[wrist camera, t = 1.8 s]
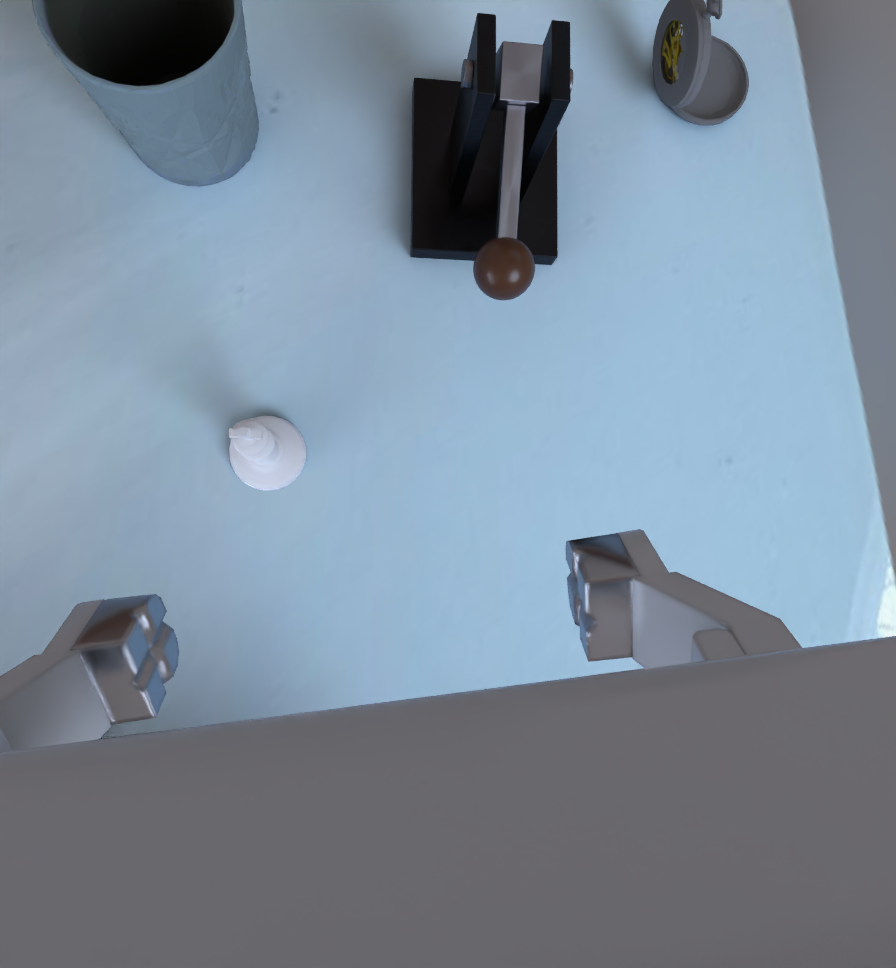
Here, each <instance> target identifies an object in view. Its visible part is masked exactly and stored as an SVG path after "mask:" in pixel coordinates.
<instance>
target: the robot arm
mask: <svg viewBox="0 0 896 968" xmlns="http://www.w3.org/2000/svg"><path fill="white" fill-rule="evenodd" d="M566 560H567V563H568V566H569V569H570V572H571V573H570V574H569V576H568V577H567V585H568V595H569V602H570V608H571V612H572V616H573V619H574V622H575V624H576V625H578V626H580V639H581V642H582V645H583V648H584V651H585V654H586V656H587V659H588V662H589V661H599V660H609V659H618V658H628V657H633V660H635V661H636V662H637V663H639V664H640V665H641V666H643V667H644V668H645V669H637V670H629V671H621V672H614V673H606V674H598V675H590V676H583V677H575V678H567V679H560V680H552V681H544V682H537V683H529V684H521V685H513V686H506V687H498V688H490V689H483V690H475V691H467V692H459V693H452V694H444V695H436V696H429V697H421V698H413V699H405V700H398V701H390V702H382V703H375V704H367V705H359V706H351V707H344V708H336V709H328V710H321V711H313V712H305V713H297V714H290V715H282V716H274V717H266V718H259V719H251V720H243V721H236V722H228V723H220V724H212V725H205V726H197V727H189V728H182V729H174V730H166V731H158V732H151V733H143V734H135V735H127V736H120V737H112V738H104V739H100V738H101V737H102V736H103V735H104V734H105V733H106V732H107V731H108V730H109V729H110V728H111V727H112V726H111V725H112V724H118V723H124V722H131V721H137V720H143V719H150V718H156V716H157V714H158V711H159V709H160V707H161V704H162V702H163V700H164V697H165V695H166V693H167V692H166V690H165V687H164V683H166V682H167V681H168V680H169V679H170V678H172V677H173V676H174V673H175V671H176V668H177V666H178V656H179V648H178V642H177V638H176V635H175V632H174V629H172V628H171V627H170V626H168V625H167V624H166V623H164V622H163V618H164V616H165V614H166V612H167V611H166V608H165V606H164V604H163V601H162V599H161V597H159V596H158V595H156V594H150V595H141V596H132V597H123V598H114V599H107V600H104V599H103V600H96V601H89V602H83V603H80V604H77V605H76V606H75V607H74V609H73V610H72V612H71V613H70V615H69V616H68V617H67V619H66V620H65V622H64V623H63V625H62V626H61V627H60V629H59V630H58V632H57V633H56V635H55V636H54V637H53V639H52V640H51V642H50V643H49V645H48V646H47V647H46V649H45V650H44V652H43V653H42V654H41V655H34V656H32V657H31V658H29V659H27V660H26V661H24V662H23V663H21V664H19V665H18V666H16V667H15V668H13V669H11V670H10V671H8V672H7V673H5V674H3V675H2V676H0V968H896V636H892V637H885V638H877V639H869V640H862V641H854V642H846V643H839V644H831V645H823V646H815V647H808V648H802V647H801V646H800V644H799V643H798V642H797V641H796V639H795V638H794V637H793V635H792V634H791V633H790V631H789V630H788V629H787V627H786V626H785V625H784V623H783V622H782V621H781V620H780V619H779V618H777V617H775V616H773V615H770V614H768V613H766V612H764V611H761V610H759V609H757V608H755V607H753V606H750V605H748V604H746V603H744V602H742V601H739V600H737V599H735V598H733V597H730V596H728V595H726V594H724V593H722V592H719V591H717V590H715V589H713V588H711V587H708V586H706V585H704V584H702V583H700V582H697V581H695V580H693V579H691V578H688V577H686V576H684V575H682V574H680V573H677V572H671V573H669V572H668V570H667V569H666V567H665V565H664V564H663V562H662V560H661V559H660V557H659V555H658V554H657V552H656V551H655V549H654V547H653V546H652V544H651V542H650V541H649V539H648V537H647V536H646V534H645V532H644V531H643V530H641V529H638V530H632V531H626V532H620V533H615V534H609V535H602V536H596V537H590V538H583V539H577V540H570V541H566Z"/></svg>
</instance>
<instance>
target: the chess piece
mask: <svg viewBox="0 0 896 968" xmlns="http://www.w3.org/2000/svg"><path fill="white" fill-rule="evenodd" d="M228 436H229V437H231V443H230V448H229V457H230V462H231V465H232V468H233V470H234V472H235V473H236V475H237V476H238V477H239V478H240V479H241V480H242V481H243V482H244V483H246V484H247V485H249V486H251V487H253V488H256V489H259V490H276V489H280V488H283V487H285V486H287V485H289V484H290V483H291V482H293V481H294V480H295V479H296V478H297V477H298V476H299V474H300V473H301V471H302V469H303V467H304V464H305V460H306V446H305V442H304V439H303V437H302V435H301V434H300V432H299V431H298V429H297V428H296V427H295V426H294V425H292V424H291V423H290V422H288V421H286V420H284V419H282V418H279V417H274V416H259V417H256V418H253V419H244V420H241V421H239V422H238V423H237V424H236V425H235V426H234V427H233V428H229V435H228Z"/></svg>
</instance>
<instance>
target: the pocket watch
mask: <svg viewBox="0 0 896 968" xmlns="http://www.w3.org/2000/svg"><path fill="white" fill-rule="evenodd" d="M706 4H707V7H706ZM706 4H705V2H704V0H670V1H669V2H668V3H667V5H666V7H665V9H664V11H663V13H662V15H661V17H660V20H659V23H658V26H657V30H656V35H655V40H654V47H653V76H654V82H655V86H656V90H657V93H658V95H659V97H660V99H661V101H662V102H663V103H664V104H665V105H667V106H669V107H670V108H671V109H672V110H673V111H674V112H675V113H676V114H677V115H679V116H680V117H682V118H683V119H684V120H686V121H689V122H691V123H694V124H697V125H715V124H719V123H722V122H724V121H725V120H727V119H729V118H731V117H732V116H733V115H734V114H735V113H736V112H737V111H738V110H739V109H740V107H741V106H742V104H743V103H744V101H745V99H746V96H747V92H748V87H749V79H748V73H747V70H746V67H745V64H744V62H743V60H742V58H741V57H740V55H739V54H738V53H737V52H736V50H735V49H734V48H733V47H731V46H730V45H729V44H728V43H726V42H724V41H722V40H720V39H718V38H716V37H714V36H711V25H710V17H711V15H712V16H715V18H716V19H720V17H721V15H722V0H707V3H706ZM681 24H682V26H683V27H680V26H681ZM679 27H680V28H681V32H682V29H683V36H681V33H680V35H679V29H680V28H679ZM676 34H677V35H676ZM679 37H681V38H682V39H681V40H680V39H679ZM674 42H675V43H674Z"/></svg>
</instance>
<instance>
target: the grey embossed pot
mask: <svg viewBox="0 0 896 968" xmlns="http://www.w3.org/2000/svg"><path fill="white" fill-rule="evenodd" d="M32 2H33V9H34V13H35V17H36V20H37V23H38V26H39V28H40V31H41V33H42V35H43V37H44V39H45V40H46V42H47V44H48V45H49V47H50V48H51V50H52V51H53V52H54V54H55V55H56V56H57V57H58V58H59V59H60V61H61V62H62V63H63V64H64V65H65V66H66V68H67V69H68V70H69V71H70V72H71V73H72V75H73V76H74V77H75V78H76V79H77V80H78V82H79V83H80V84H81V85H82V87H83V88H85V89H86V90H87V91H88V94H89V95H90V96H91V98H92V99H93V100H94V101H95V102H96V103H97V104H98V106H99V107H100V108H101V109H102V110H103V112H104V114H105V115H106V117H107V118H108V119H109V120H110V121H111V122H112V124H113V126H115V127H116V128H118V129H119V130H120V132H121V134H122V135H123V136H124V137H125V139H126V140H127V141H128V143H129V145H130V146H131V147H132V149H133V150H134V151H135V152H136V154H137V155H138V156H139V158H140V159H141V160H142V161H143V162H144V163H145V164H146V165H147V166H148V167H149V168H150V169H151V170H153V171H154V172H155V173H157V174H158V175H160V176H161V177H163V178H166V179H168V180H170V181H172V182H175V183H179V184H183V185H188V186H204V185H211V184H214V183H218V182H220V181H223V180H225V179H228V178H230V177H232V176H233V175H234V174H235V173H236V172H238V171H239V170H240V169H241V168H242V167H243V166H244V165H245V163H246V161H249V160H250V157H251V153H252V151H253V150H254V149H255V144H256V141H257V136H258V130H259V127H258V115H257V108H256V104H255V97H254V92H253V89H252V84H251V81H250V75H251V74H250V66H249V63H250V62H249V58H248V53H247V42H246V34H245V24H244V16H243V7H242V0H32Z"/></svg>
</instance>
